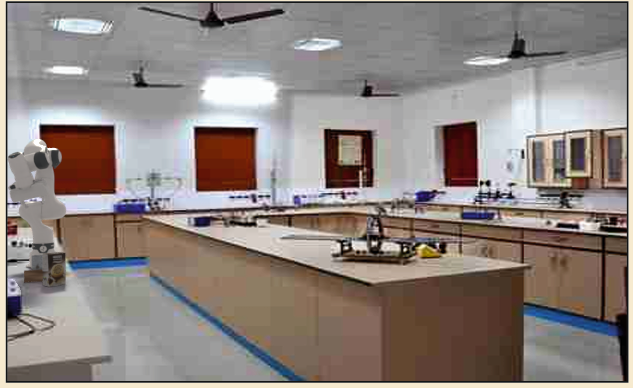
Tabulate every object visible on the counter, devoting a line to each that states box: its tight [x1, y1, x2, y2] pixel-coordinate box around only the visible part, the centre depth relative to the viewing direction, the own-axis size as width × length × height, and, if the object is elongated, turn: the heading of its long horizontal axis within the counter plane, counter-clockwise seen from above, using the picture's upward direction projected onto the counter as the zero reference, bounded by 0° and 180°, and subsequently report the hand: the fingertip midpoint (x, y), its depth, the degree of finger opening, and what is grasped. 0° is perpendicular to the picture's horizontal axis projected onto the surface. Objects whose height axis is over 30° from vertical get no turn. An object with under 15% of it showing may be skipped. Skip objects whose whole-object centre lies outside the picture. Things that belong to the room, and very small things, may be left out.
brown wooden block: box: [23, 269, 43, 284], centre depth 315 cm, size 11×14×6 cm
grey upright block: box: [31, 255, 43, 270], centre depth 329 cm, size 6×6×11 cm
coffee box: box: [42, 251, 67, 288], centre depth 301 cm, size 9×6×16 cm
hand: (35, 206), depth 326 cm, fingers open, 8 cm apart
